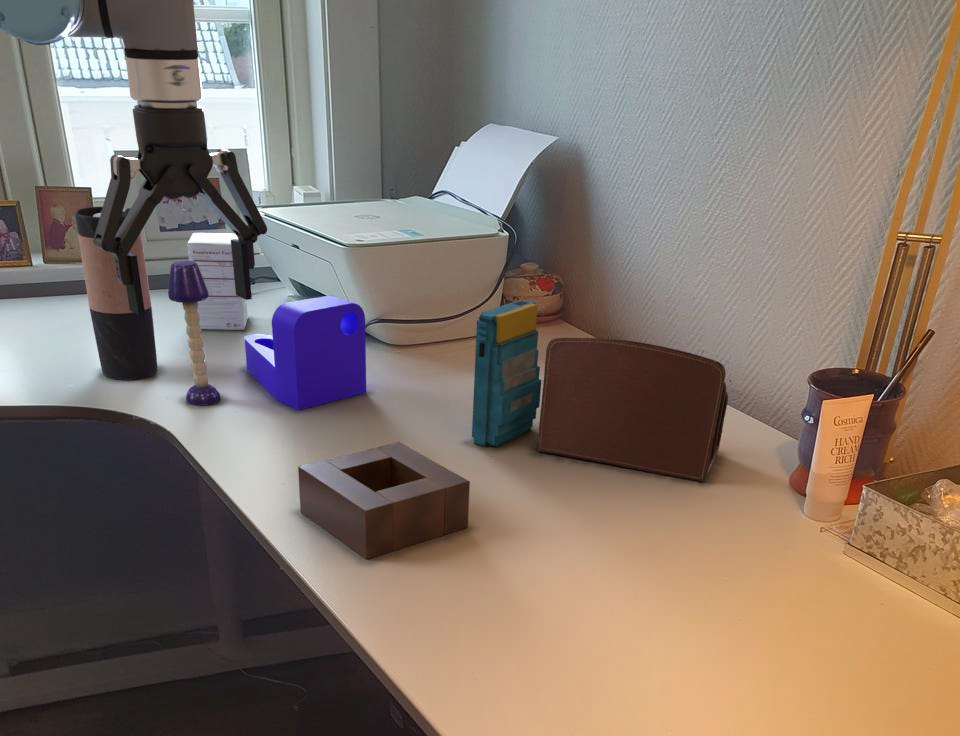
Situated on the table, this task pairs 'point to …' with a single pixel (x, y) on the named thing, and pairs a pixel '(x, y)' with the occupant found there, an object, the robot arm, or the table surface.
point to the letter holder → (632, 406)
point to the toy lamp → (193, 326)
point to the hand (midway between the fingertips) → (192, 304)
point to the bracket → (311, 352)
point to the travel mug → (116, 306)
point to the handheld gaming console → (505, 373)
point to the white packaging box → (217, 282)
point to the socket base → (383, 498)
